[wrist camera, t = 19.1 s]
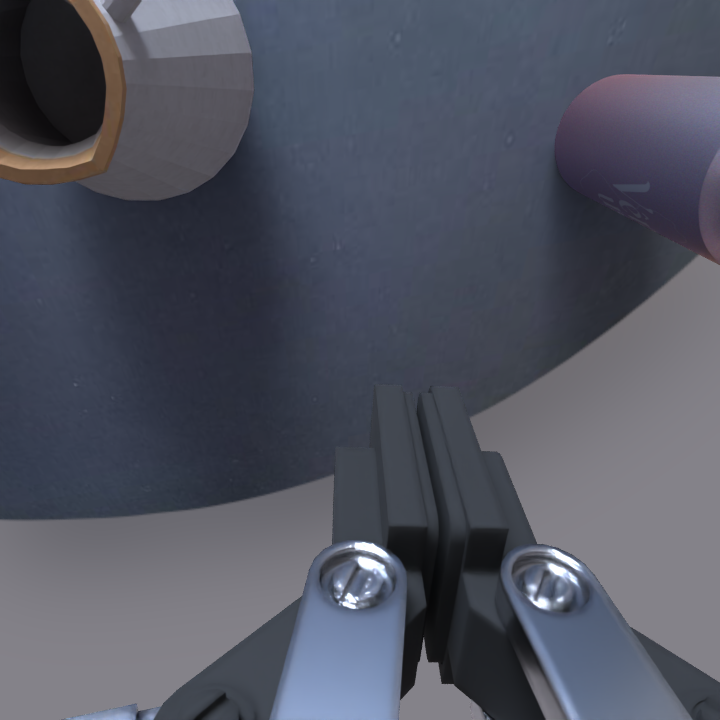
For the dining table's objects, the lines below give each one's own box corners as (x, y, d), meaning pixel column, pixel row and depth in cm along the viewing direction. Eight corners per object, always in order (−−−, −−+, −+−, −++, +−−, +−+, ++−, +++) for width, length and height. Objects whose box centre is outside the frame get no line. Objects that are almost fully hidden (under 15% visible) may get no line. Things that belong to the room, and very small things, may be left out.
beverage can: (681, 145, 30) (953, 207, 17) (583, 217, 32) (762, 324, 19) (631, 46, 28) (900, 28, 15) (529, 128, 30) (687, 179, 16)
